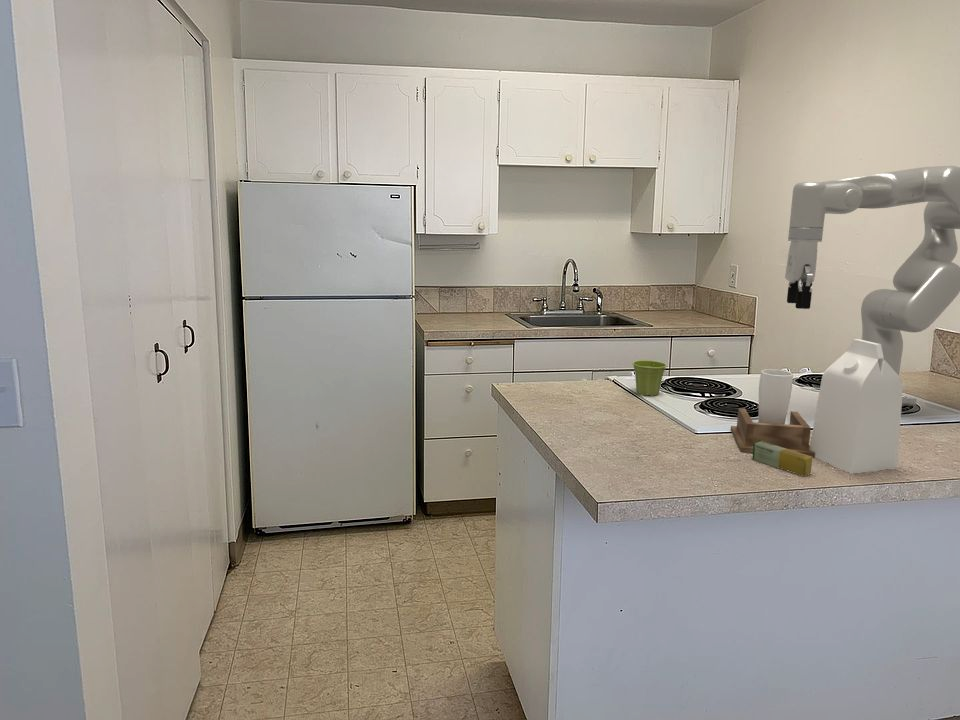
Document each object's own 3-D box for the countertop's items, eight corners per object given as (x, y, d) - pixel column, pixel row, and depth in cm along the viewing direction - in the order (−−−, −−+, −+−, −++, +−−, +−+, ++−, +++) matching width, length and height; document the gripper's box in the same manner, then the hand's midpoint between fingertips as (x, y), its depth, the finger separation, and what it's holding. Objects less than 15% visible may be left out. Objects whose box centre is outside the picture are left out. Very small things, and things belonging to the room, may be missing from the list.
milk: (896, 470, 148) (914, 345, 142) (851, 476, 144) (867, 348, 139) (851, 451, 159) (865, 335, 153) (808, 456, 156) (821, 337, 150)
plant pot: (643, 387, 210) (645, 358, 209) (671, 394, 204) (673, 364, 202) (623, 392, 204) (625, 363, 203) (651, 399, 198) (653, 369, 196)
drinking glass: (788, 442, 160) (796, 376, 156) (756, 440, 161) (763, 374, 158) (783, 433, 166) (790, 370, 163) (751, 431, 168) (758, 368, 164)
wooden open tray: (797, 434, 169) (800, 409, 168) (814, 457, 154) (817, 430, 152) (730, 429, 172) (732, 405, 170) (740, 452, 156) (743, 425, 155)
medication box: (751, 460, 152) (752, 442, 151) (758, 457, 154) (760, 439, 153) (804, 478, 143) (806, 458, 142) (812, 474, 144) (813, 455, 143)
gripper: (781, 233, 183) (774, 300, 186) (796, 236, 166) (789, 310, 170) (813, 233, 181) (805, 301, 185) (831, 237, 164) (823, 311, 168)
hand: (797, 305), depth 177 cm, fingers open, 9 cm apart
